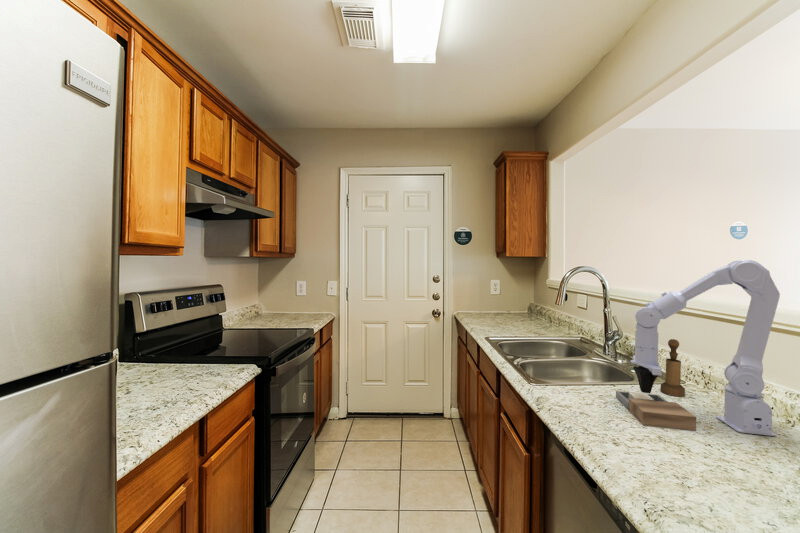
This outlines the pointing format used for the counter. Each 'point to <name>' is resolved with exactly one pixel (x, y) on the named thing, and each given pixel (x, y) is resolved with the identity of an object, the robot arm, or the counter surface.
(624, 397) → the box
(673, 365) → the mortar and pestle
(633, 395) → the tile
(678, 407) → the wooden cutting board
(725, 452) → the counter surface
